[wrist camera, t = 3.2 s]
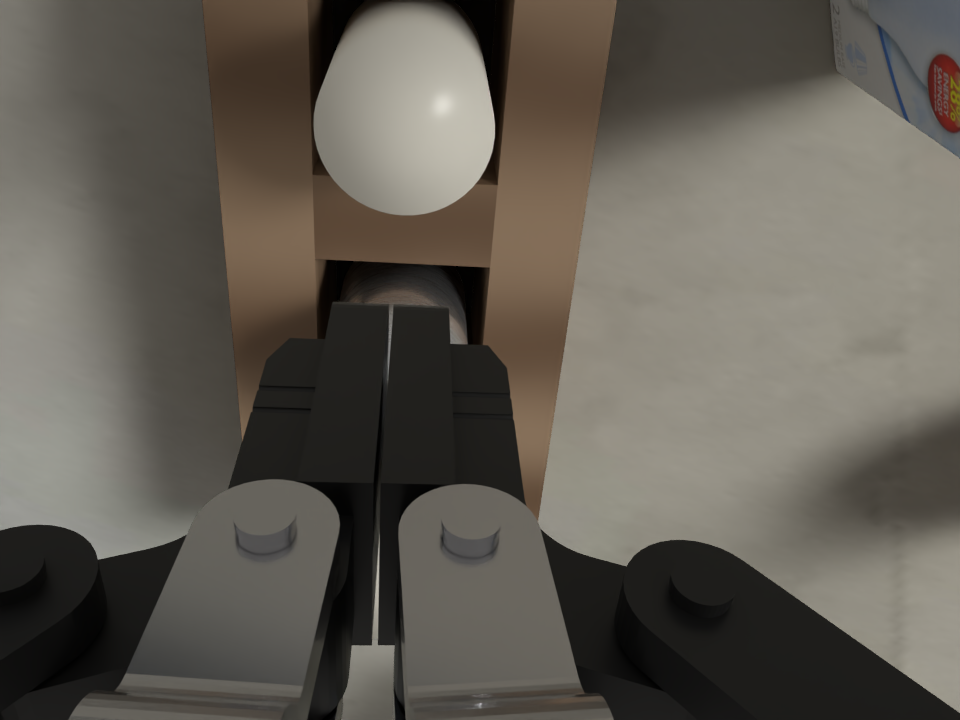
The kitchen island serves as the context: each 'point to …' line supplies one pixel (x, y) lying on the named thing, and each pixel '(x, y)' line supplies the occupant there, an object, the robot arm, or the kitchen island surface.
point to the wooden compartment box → (409, 238)
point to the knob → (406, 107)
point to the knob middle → (408, 290)
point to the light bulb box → (904, 59)
